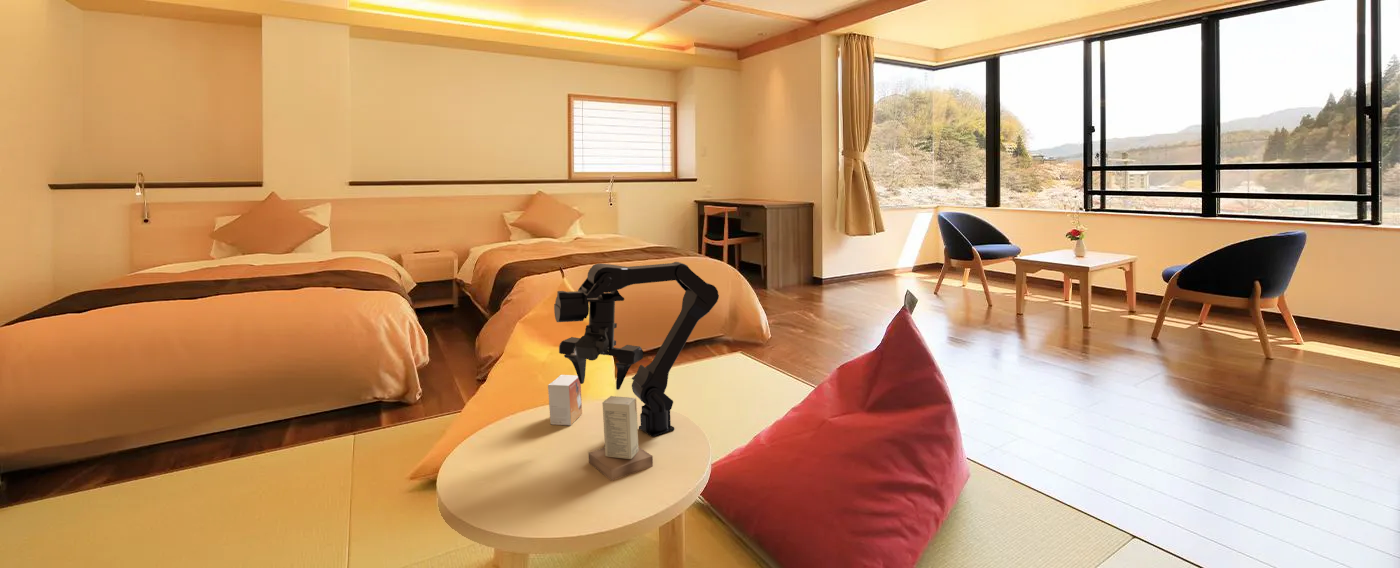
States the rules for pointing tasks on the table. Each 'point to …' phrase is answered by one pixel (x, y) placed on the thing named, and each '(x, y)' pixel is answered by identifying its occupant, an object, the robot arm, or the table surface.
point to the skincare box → (620, 427)
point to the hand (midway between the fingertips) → (599, 386)
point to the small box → (565, 400)
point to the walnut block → (619, 463)
